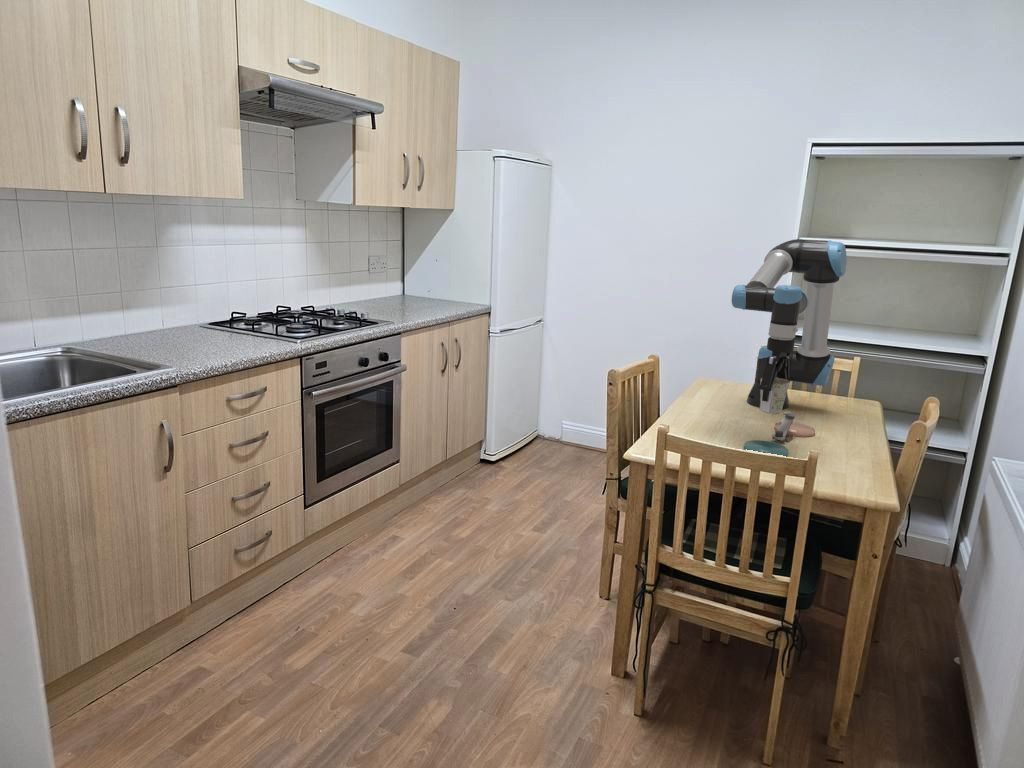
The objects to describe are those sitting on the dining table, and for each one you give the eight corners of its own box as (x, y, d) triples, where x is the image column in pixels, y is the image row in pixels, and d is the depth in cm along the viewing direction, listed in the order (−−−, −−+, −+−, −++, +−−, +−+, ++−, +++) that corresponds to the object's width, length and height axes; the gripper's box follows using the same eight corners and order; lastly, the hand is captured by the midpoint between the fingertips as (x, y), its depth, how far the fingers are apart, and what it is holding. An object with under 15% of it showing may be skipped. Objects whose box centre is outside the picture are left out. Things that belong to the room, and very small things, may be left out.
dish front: (737, 450, 215) (737, 446, 214) (752, 440, 224) (753, 437, 224) (779, 461, 207) (780, 457, 206) (793, 450, 217) (794, 447, 216)
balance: (768, 441, 224) (771, 418, 222) (781, 432, 234) (785, 410, 232) (783, 445, 221) (787, 422, 219) (796, 436, 231) (800, 413, 229)
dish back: (768, 430, 236) (769, 427, 236) (781, 422, 246) (781, 419, 245) (808, 439, 228) (808, 436, 228) (819, 431, 238) (820, 427, 238)
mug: (784, 409, 217) (788, 378, 215) (785, 420, 206) (790, 388, 203) (756, 406, 220) (760, 375, 217) (756, 417, 208) (760, 385, 206)
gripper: (780, 344, 195) (770, 417, 201) (807, 335, 214) (796, 402, 219) (754, 340, 200) (744, 412, 205) (782, 331, 218) (773, 397, 224)
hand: (771, 407), depth 212 cm, fingers closed on mug, 12 cm apart
